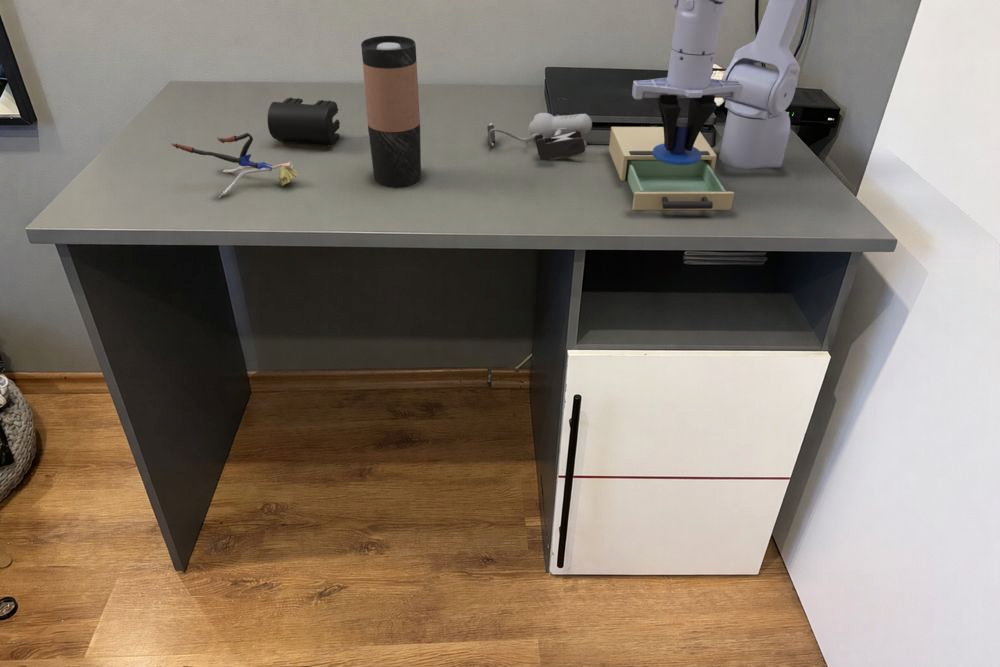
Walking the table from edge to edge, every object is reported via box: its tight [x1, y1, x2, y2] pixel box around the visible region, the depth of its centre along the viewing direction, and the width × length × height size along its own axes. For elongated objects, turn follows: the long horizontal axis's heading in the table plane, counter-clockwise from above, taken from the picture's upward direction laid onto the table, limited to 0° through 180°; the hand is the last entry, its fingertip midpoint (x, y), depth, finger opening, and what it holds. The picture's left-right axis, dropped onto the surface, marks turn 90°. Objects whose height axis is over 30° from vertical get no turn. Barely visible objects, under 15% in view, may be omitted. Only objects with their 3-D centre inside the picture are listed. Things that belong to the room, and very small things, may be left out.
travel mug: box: [360, 35, 422, 188], centre depth 110 cm, size 8×8×20 cm
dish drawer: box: [608, 126, 718, 182], centre depth 118 cm, size 14×12×5 cm
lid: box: [653, 121, 702, 165], centre depth 106 cm, size 7×7×5 cm
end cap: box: [267, 97, 341, 147], centre depth 124 cm, size 10×7×7 cm
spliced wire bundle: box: [170, 132, 299, 199], centre depth 110 cm, size 10×9×20 cm
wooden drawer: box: [625, 160, 735, 211], centre depth 109 cm, size 14×14×3 cm
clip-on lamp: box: [486, 112, 593, 161], centre depth 124 cm, size 12×6×18 cm
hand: (677, 148), depth 107 cm, fingers closed on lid, 2 cm apart
